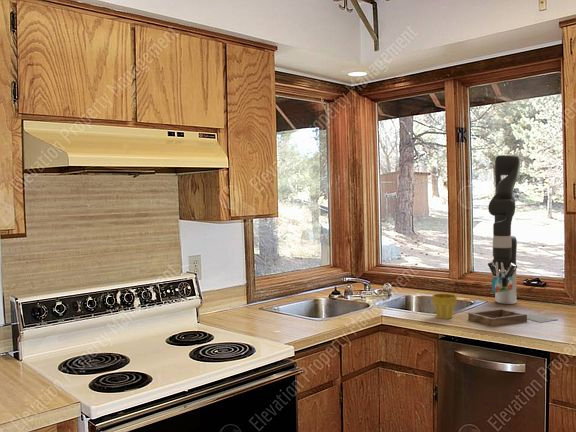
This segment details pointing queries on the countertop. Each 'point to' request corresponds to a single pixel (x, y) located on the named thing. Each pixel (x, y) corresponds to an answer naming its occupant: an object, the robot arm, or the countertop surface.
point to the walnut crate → (507, 318)
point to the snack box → (498, 284)
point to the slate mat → (539, 318)
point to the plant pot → (444, 305)
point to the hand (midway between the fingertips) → (502, 286)
